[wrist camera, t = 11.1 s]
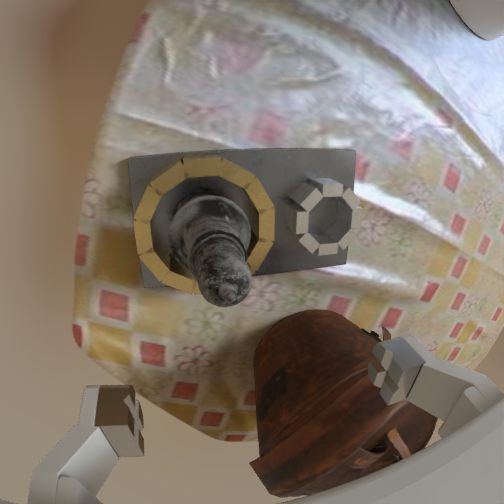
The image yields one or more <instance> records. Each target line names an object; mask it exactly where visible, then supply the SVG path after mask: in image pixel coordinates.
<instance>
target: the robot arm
mask: <svg viewBox="0 0 504 504" xmlns="http://www.w3.org/2000/svg"><path fill="white" fill-rule="evenodd" d="M450 2H451V4H452V5H453V7H454V8H455V10H456V11H457V13H458V14H459V16H460V17H461V18H462V20H463V21H464V22H465V23H466V24H467V26H468V27H469V28H470V29H471V30H472V31H473V32H475V33H476V34H477V35H478V36H480V37H482V38H483V39H486V40H495V39H497V38H499V37H501V36H503V35H504V0H450ZM372 352H373V354H374V356H373V357H372V358H371V360H370V361H369V364H368V376H369V378H370V380H371V382H372V383H373V385H375V386H377V387H379V388H380V391H379V393H380V395H381V396H382V398H383V399H384V401H385V402H386V403H387V405H391V404H394V403H397V402H399V401H402V400H404V399H407V401H409V402H411V403H413V404H414V405H416V406H418V407H420V408H421V409H423V410H425V411H427V412H428V413H430V414H432V415H434V416H435V417H437V418H439V419H441V420H442V421H444V423H443V424H442V426H441V427H440V429H439V431H438V434H439V435H440V436H441V438H442V439H441V440H439V441H437V442H435V443H433V444H432V445H430V446H428V447H426V448H424V449H422V450H420V451H418V452H417V453H415V454H413V455H411V456H409V457H407V458H405V459H402V460H400V461H398V462H396V463H394V464H392V465H390V466H387V467H385V468H383V469H381V470H378V471H376V472H374V473H371V474H369V475H366V476H364V477H361V478H359V479H356V480H354V481H351V482H348V483H345V484H343V485H340V486H337V487H334V488H331V489H328V490H325V491H322V492H319V493H315V494H312V495H309V496H305V497H302V498H298V499H294V500H290V501H286V502H283V503H279V504H504V393H503V392H502V391H501V390H500V389H499V388H498V387H497V386H496V385H495V384H494V383H493V382H492V381H491V380H490V378H488V376H486V375H483V374H480V373H478V372H475V371H472V370H470V369H467V368H464V367H462V366H459V365H456V364H454V363H451V362H448V361H446V360H443V359H441V358H437V359H436V358H435V357H434V356H433V355H432V354H431V353H430V352H429V351H428V350H427V349H426V348H425V347H424V346H423V345H422V343H421V342H420V341H419V340H418V339H417V338H416V337H415V336H414V335H412V334H410V333H409V334H406V335H403V336H400V337H396V338H393V339H390V340H386V341H383V342H380V343H377V344H376V345H375V346H374V348H373V351H372ZM143 428H144V427H143V415H142V410H141V406H140V403H139V401H138V400H136V399H135V390H134V388H133V386H132V385H88V386H86V387H85V389H84V393H83V398H82V404H81V410H80V415H79V421H78V426H73V427H72V428H71V429H70V430H69V431H68V433H67V434H66V435H65V436H64V437H63V438H62V439H61V440H60V441H59V442H58V443H57V444H56V446H55V447H54V448H53V449H52V450H51V451H50V452H49V453H48V454H47V455H46V456H45V457H44V458H43V459H42V461H41V462H40V463H39V464H38V465H37V466H36V467H35V468H34V469H33V470H32V474H31V481H30V488H29V495H28V504H103V503H101V502H100V501H99V500H98V499H97V498H96V495H97V494H98V492H99V490H100V489H101V487H102V485H103V484H104V482H105V481H106V479H107V477H108V476H109V474H110V473H111V471H112V469H113V468H114V466H115V465H116V463H117V461H118V460H119V457H138V456H144V439H143V437H142V435H141V431H142V429H143ZM0 504H17V503H13V502H9V501H5V500H2V499H0Z"/></svg>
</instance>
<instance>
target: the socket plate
mask: <svg viewBox="0 0 504 504" xmlns="http://www.w3.org/2000/svg"><path fill="white" fill-rule="evenodd" d="M355 161H356V151H354V150H347V149H319V148H254V149H226V150H207V151H191V152H178V153H167V154H156V155H147V156H138V157H130V158H128V167H129V179H130V189H131V199H132V208H133V216H134V220H133V224H134V232H135V239H136V246H137V252H138V254H139V258H140V265H141V271H142V276H143V282H144V288H148V287H158V286H167V285H168V286H171V287H174V288H176V289H179V290H181V291H184V292H187V293H190V294H192V293H193V292H194V295H195V294H201V292H200V290H199V287H198V281H197V279H196V278H195V277H194V276H193V275H192V274H191V272H190V270H188V269H186V268H185V267H183V266H182V265H181V264H180V263H179V262H178V261H177V260H176V259H175V258H174V256H173V254H172V252H171V250H170V247H169V241H168V232H169V226H170V223H171V221H172V218H173V213H174V210H175V208H176V206H177V204H178V203H179V202H180V201H181V199H182V198H184V197H185V196H186V195H188V194H189V193H192V192H194V191H197V190H203V189H209V190H215V191H218V192H220V193H222V194H224V195H225V196H226V197H227V198H229V199H230V200H231V201H233V202H234V203H236V204H237V205H238V206H239V207H240V208H241V209H242V210H243V211H244V213H245V214H246V216H247V218H248V221H249V224H250V228H251V238H250V243H249V247H248V249H247V262H246V264H247V265H248V267H249V269H250V272H251V276H257V275H265V274H274V273H282V272H290V271H298V270H306V269H313V268H321V267H329V266H336V265H343V264H346V260H347V252H348V245H349V244H350V243H351V242H352V241H353V239H354V238H355V237H356V236H357V234H356V233H355V232H354V231H353V229H360V228H361V219H362V210H363V208H361V207H359V206H358V204H359V203H360V202H361V201H360V200H359V199H358V197H357V196H356V195H355V194H354V192H353V191H354V177H355Z"/></svg>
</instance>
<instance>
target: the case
mask: <svg viewBox="0 0 504 504" xmlns="http://www.w3.org/2000/svg"><path fill="white" fill-rule="evenodd" d="M382 329H383V341H386V340H390V339H391V334H390V333H389V331H388V330H387V329H386V328H384V327H382ZM378 337H379V335H378V334H377V333H375V332H374V331H371V333H369V332H367V331H366V330H364V329H360V328H359V327H358V326H356V325H355V324H353V323H352V322H351V321H349V320H348V319H346V318H345V317H343V316H342V315H340V314H338V313H336V312H332V311H328V310H308V311H304V312H300V313H297V314H295V315H292V316H290V317H288V318H286V319H284V320H283V321H281V322H279V323H278V324H277V325H275V326H274V327H273V328H272V329H271V330H270V331H269V332H268V333H267V334H266V335H265V336H264V338H263V339H262V340H261V342H260V343H259V345H258V347H257V349H256V352H255V356H254V362H253V366H254V378H255V398H256V416H257V430H258V441H259V455H260V457H259V458H257V459H256V460H254V461H252V462H250V463H249V464H250V465H251V467H252V468H253V470H254V471H255V473H256V474H257V475H258V477H259V479H260V480H261V482H262V483H263V484H264V486H265V487H266V489H267V490H268V491H269V493H270V494H271V495H275V496H278V497H289V496H292V497H295V496H301V495H308V496H309V495H312V494H315V493H319V492H322V491H325V490H328V489H331V488H334V487H337V486H340V485H343V484H345V483H348V482H351V481H354V480H356V479H359V478H361V477H364V476H366V475H369V474H371V473H374V472H376V471H378V470H381V469H383V468H385V467H387V466H390V465H392V464H394V463H396V462H398V461H400V460H402V459H405V458H407V457H409V456H411V455H413V454H415V453H417V452H418V451H420V450H422V449H424V448H425V446H426V445H427V443H428V442H429V440H430V438H431V436H432V434H433V431H434V429H435V426H436V422H437V420H438V418H437V417H435V416H434V415H432V414H430V413H428V412H427V411H425V410H423V409H421V408H420V407H418V406H416V405H414V404H413V403H411V402H409V401H407V399H404V400H402V401H399V402H397V403H394V404H391V405H387V403H386V402H385V401H384V399H383V398H382V396H381V395H380V393H379V391H380V388H379V387H377V386H375V385H373V383H372V382H371V380H370V378H369V376H368V364H369V361H370V360H371V358H372V357H373V356H374V354H373V352H372V351H373V348H374V346H375V345H376V344H377V343H380V342H382V341H381V340H380V339H379V338H378Z"/></svg>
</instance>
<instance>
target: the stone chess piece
mask: <svg viewBox="0 0 504 504" xmlns="http://www.w3.org/2000/svg"><path fill="white" fill-rule="evenodd" d="M250 238H251V228H250V224H249V221H248V218H247V216H246V214H245V213H244V211H243V210H242V209H241V208H240V207H239V206H238V205H237V204H236V203H234V202H233V201H231V200H230V199H229V198H227V197H226V196H225V195H224V194H222V193H220V192H218V191H215V190H209V189H203V190H197V191H194V192H192V193H189V194H188V195H186V196H185V197H184V198H182V199H181V201H180V202H179V203H178V204H177V206H176V208H175V210H174V213H173V218H172V221H171V223H170V226H169V232H168V241H169V247H170V250H171V252H172V254H173V256H174V258H175V259H176V260H177V261H178V262H179V263H180V264H181V265H182V266H183V267H185V268H186V269H188V270H190V272H191V274H192V275H193V276H194V277H195V278H196V279H197V281H198V287H199V290H200V292H201V294H202V295H203V297H204V298H205V299H206V300H207V301H208V302H210V303H211V304H213V305H216V306H220V307H228V306H233V305H235V304H238V303H239V302H241V301H242V300H244V299H245V297H246V296H247V295H248V293H249V292H250V290H251V285H252V277H251V272H250V269H249V267H248V265H247V264H246V262H247V249H248V247H249V243H250Z"/></svg>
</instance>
